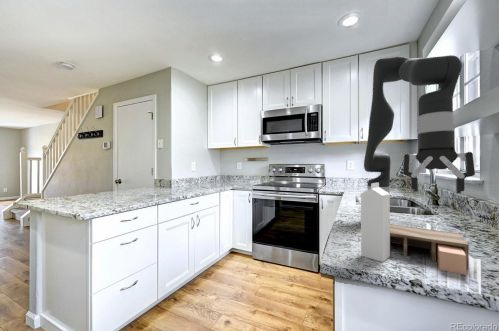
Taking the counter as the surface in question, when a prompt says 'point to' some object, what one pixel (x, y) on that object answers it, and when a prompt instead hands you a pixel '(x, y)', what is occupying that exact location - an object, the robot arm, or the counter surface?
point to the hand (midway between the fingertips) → (436, 192)
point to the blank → (451, 258)
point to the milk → (375, 223)
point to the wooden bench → (427, 239)
